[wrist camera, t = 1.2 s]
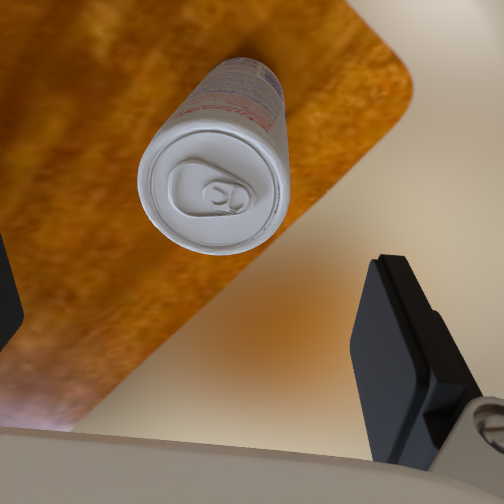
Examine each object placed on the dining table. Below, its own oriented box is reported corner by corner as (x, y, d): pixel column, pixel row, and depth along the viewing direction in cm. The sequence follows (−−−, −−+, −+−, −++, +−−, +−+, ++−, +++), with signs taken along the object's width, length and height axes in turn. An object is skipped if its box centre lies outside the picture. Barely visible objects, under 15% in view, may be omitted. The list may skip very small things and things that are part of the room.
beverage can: (185, 80, 27) (102, 157, 14) (263, 39, 25) (249, 84, 13) (224, 156, 29) (184, 278, 17) (297, 123, 28) (313, 230, 15)
